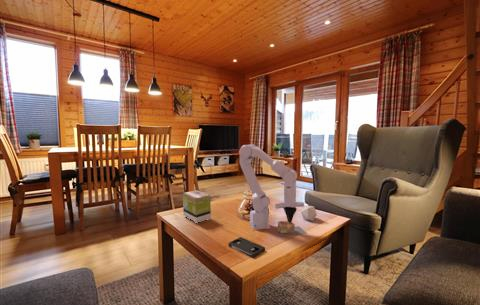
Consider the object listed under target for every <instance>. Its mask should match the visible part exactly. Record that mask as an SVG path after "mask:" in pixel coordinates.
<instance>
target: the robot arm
mask: <svg viewBox="0 0 480 305" xmlns="http://www.w3.org/2000/svg"><path fill="white" fill-rule="evenodd" d="M238 154H239V165H240V168H241V170H242V173H243V175H244V178H245V180H246V182H247V185H248V187H249V191H250V192H251V194H252V195H251V196H252V197H251V202H252V208H253V209H254V210H250V212H249V225H250V228H252V230H253V231H256V230H265V229H267V230H268V229H272V227H271V226H270V225H269V206H270V204H271V199H270V198H269V197H268V196H267V194H266V193H265V191H263V190H262V187H261V185H260V183H259V180H258V178H257V176H256V174H255V171H254V169H253V166H252V164H251V162H252V160H253V159H254V158H258V159H260V160H261V161H263V162H265V163H266V164H268V165H269V166H270V168H271V171H273V172H275V174H277V175H278V176H280V178H282V180H283V182H284V183H283V202H279V203H275V204H274V206H275V209H276V210H279V209H282V210H284V212H285V216H286V220H287V221H288V222H292V223H293V219H294V216H295V213H296V212H297V207H302V208H304V206H305V202H303V201H297V178H298V173H297V171H296V170H295V169H292V168H291V167H289V166H287V165H285V164H284V162H283V161H282V160H275V159H273V158H272V157H271V156H270V155H269V154H267V152H265V151H263V150H262V149H261V147H259V146H257V145H256V144H253V143H252V144H243V145H242V146H240V149H239V151H238Z"/></svg>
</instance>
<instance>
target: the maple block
mask: <svg viewBox="0 0 480 305" xmlns="http://www.w3.org/2000/svg"><path fill="white" fill-rule="evenodd" d="M294 227H296V226H295V223H293V221H292V222H288V221H286V220H285V221H283V220H281V221H278V222H277V228H278V231H279V232H280V233H294Z"/></svg>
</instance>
